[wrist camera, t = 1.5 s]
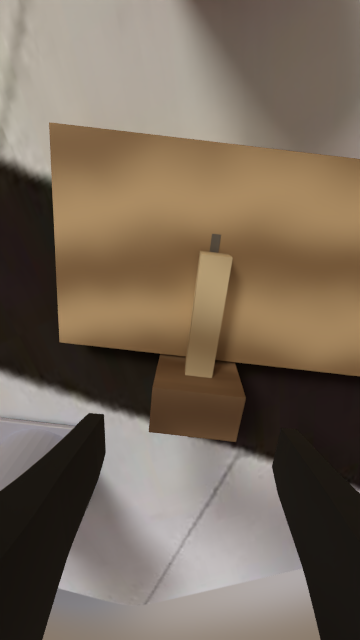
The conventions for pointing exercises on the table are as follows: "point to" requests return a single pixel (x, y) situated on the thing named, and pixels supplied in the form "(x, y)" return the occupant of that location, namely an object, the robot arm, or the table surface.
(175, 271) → the oak board
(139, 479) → the table surface
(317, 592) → the robot arm
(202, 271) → the brown block with bar
